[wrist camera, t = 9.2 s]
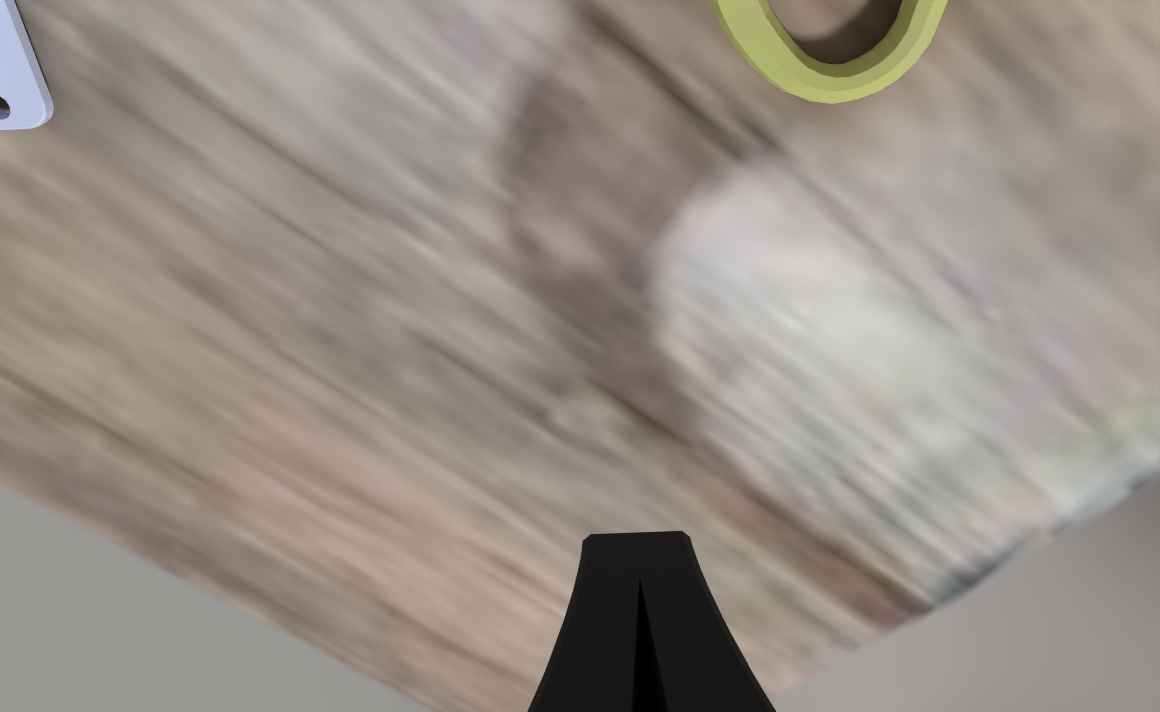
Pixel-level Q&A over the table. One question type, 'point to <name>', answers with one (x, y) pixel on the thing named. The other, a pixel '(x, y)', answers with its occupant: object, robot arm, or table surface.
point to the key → (798, 74)
